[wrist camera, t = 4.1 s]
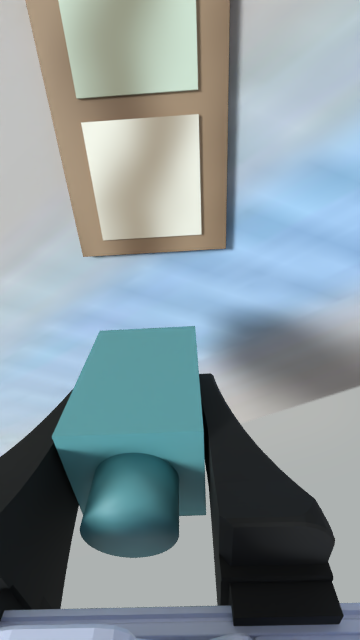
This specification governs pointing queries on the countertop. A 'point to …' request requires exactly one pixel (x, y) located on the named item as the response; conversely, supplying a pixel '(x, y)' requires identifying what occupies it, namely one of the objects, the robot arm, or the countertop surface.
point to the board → (139, 118)
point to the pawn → (135, 440)
